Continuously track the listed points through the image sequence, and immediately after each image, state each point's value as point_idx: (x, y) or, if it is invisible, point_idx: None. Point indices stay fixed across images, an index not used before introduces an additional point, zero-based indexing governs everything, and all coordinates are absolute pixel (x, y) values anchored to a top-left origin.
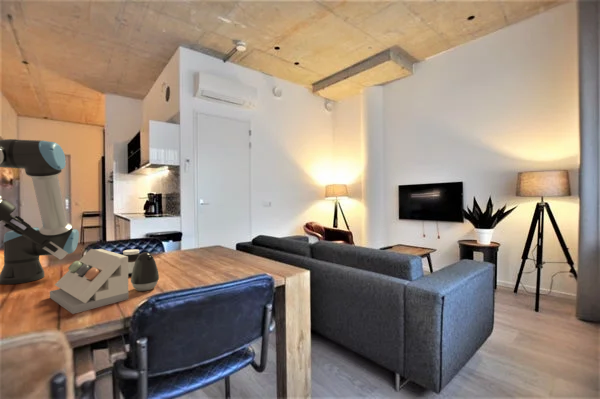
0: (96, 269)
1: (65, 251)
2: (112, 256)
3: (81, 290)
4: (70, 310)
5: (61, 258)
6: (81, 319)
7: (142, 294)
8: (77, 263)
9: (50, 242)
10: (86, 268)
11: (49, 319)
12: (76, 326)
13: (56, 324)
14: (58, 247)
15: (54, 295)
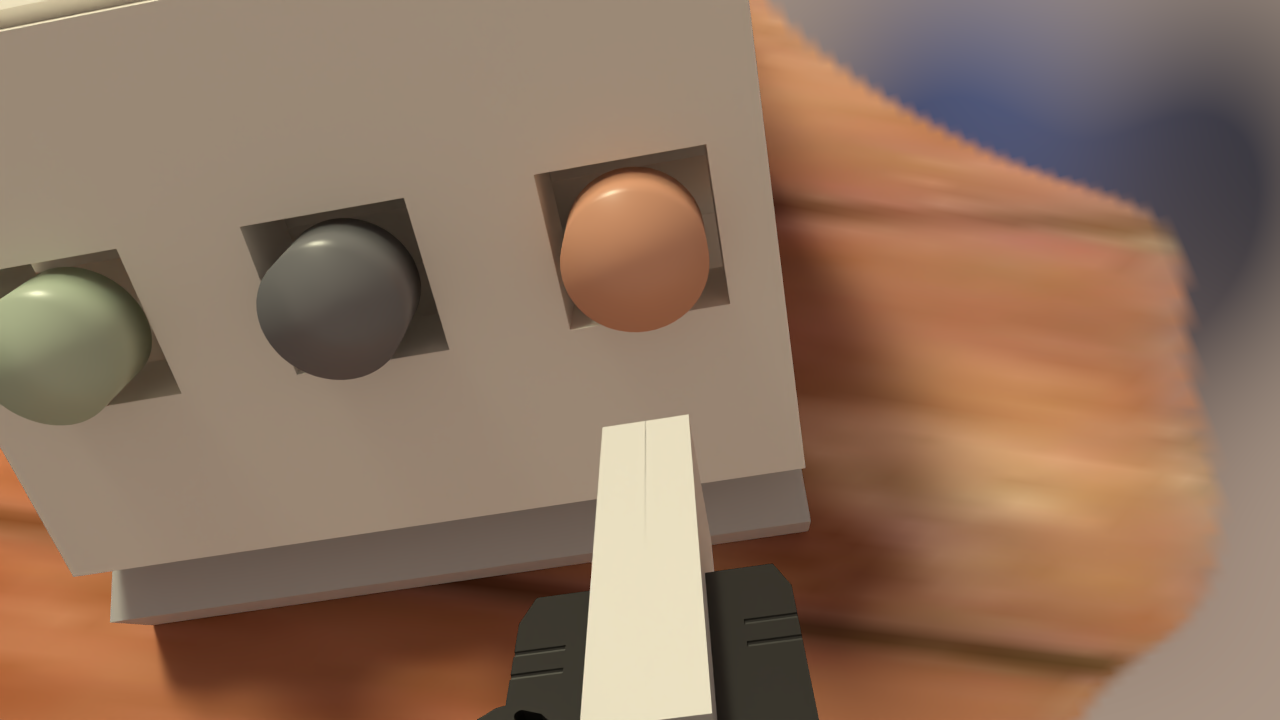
0: (659, 189)
1: (692, 450)
2: None
3: (711, 411)
4: (747, 537)
5: (708, 534)
6: (1003, 496)
7: None
8: (83, 316)
9: (711, 712)
10: (391, 267)
11: None
12: (1157, 552)
13: (989, 671)
14: (702, 553)
15: (268, 600)
